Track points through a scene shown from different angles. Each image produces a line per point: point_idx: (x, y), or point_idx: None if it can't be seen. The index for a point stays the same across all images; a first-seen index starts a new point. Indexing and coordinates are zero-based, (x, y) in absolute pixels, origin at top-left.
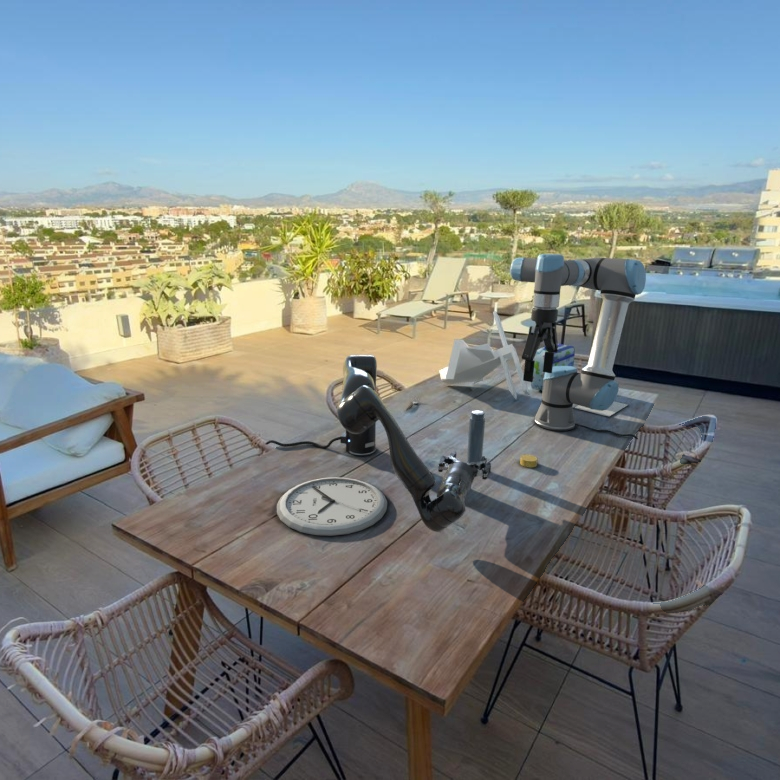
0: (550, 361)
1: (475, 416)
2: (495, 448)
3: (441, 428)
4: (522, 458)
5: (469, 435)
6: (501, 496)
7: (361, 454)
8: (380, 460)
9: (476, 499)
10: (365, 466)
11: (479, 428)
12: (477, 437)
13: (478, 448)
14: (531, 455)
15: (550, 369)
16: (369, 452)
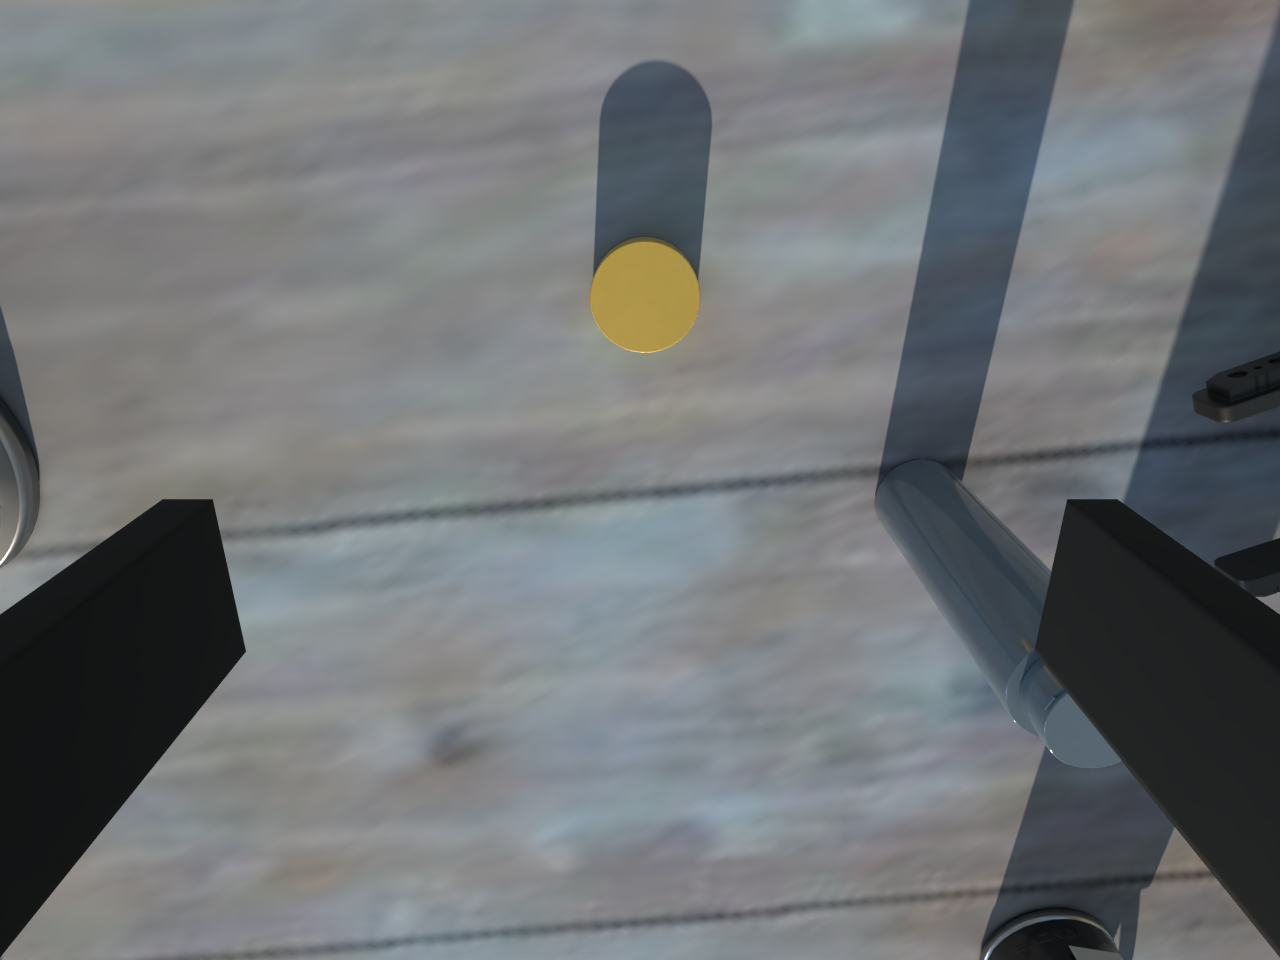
0: (52, 683)
1: None
2: (574, 546)
3: (545, 870)
4: (684, 327)
5: None
6: (1163, 206)
7: (1107, 931)
8: (1091, 851)
9: (1266, 299)
10: (1186, 857)
11: None
12: None
13: (1008, 530)
14: (596, 303)
15: (173, 552)
16: (1078, 922)
